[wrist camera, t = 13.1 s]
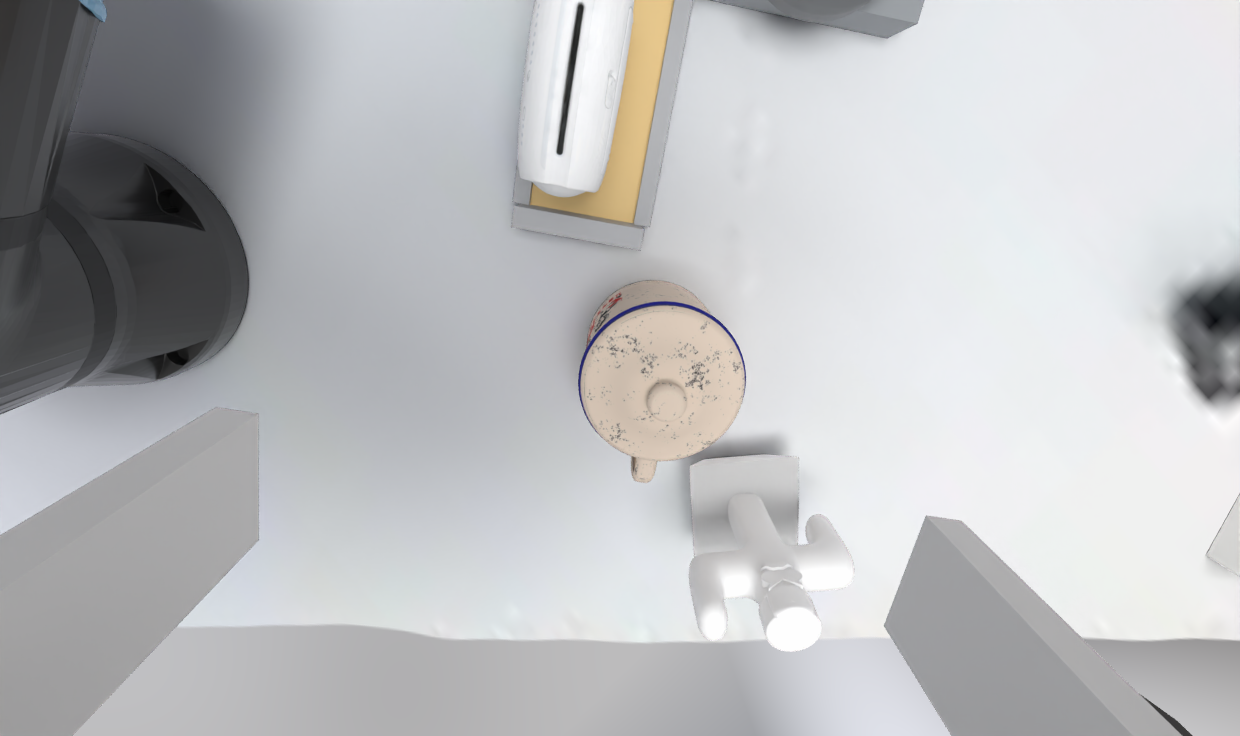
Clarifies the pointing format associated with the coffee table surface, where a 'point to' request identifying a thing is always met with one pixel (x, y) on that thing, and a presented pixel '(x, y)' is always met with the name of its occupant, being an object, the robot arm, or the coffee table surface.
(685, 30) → the deck
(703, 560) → the figurine
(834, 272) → the coffee table surface
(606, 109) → the photo printer
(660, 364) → the teacup with lid
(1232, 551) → the box
